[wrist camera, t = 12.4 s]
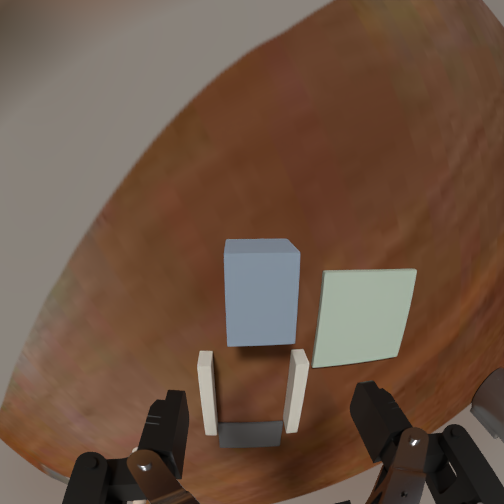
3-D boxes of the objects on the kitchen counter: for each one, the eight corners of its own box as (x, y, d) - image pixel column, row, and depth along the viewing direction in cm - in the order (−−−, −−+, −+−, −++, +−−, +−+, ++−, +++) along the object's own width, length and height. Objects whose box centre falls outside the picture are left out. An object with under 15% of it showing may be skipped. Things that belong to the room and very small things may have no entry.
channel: (288, 443, 29) (291, 457, 27) (210, 445, 29) (209, 460, 26) (303, 349, 26) (309, 363, 23) (200, 350, 25) (197, 365, 23)
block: (284, 314, 25) (294, 343, 20) (228, 316, 25) (227, 346, 20) (286, 238, 23) (300, 252, 18) (226, 239, 23) (223, 253, 18)
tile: (394, 353, 27) (396, 356, 26) (311, 364, 26) (312, 367, 26) (413, 268, 25) (416, 270, 24) (322, 270, 24) (324, 272, 23)
